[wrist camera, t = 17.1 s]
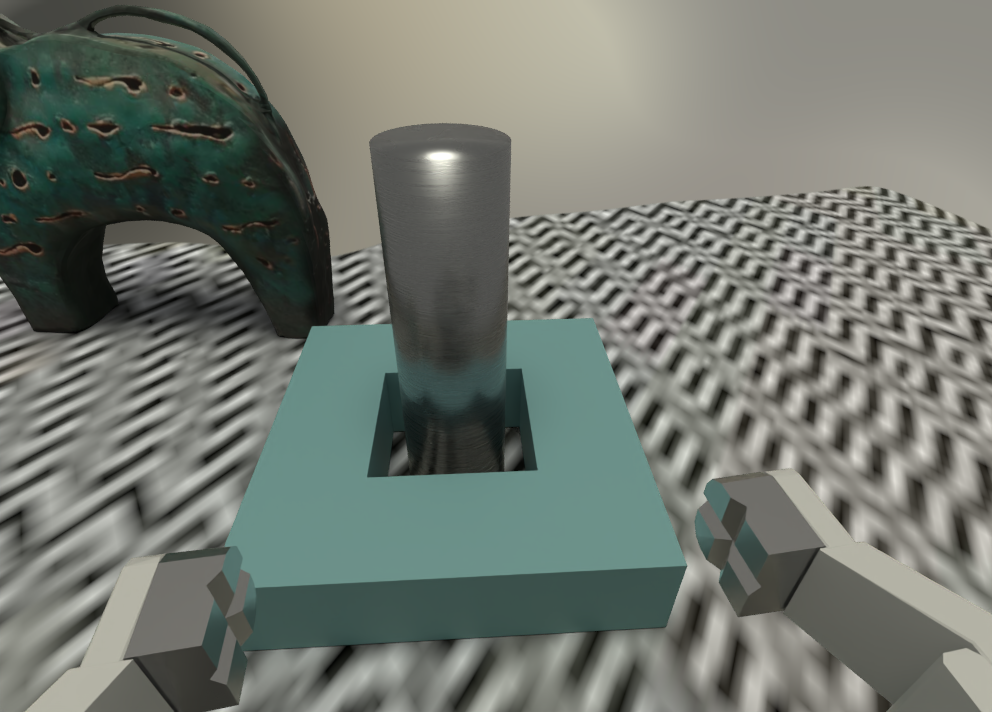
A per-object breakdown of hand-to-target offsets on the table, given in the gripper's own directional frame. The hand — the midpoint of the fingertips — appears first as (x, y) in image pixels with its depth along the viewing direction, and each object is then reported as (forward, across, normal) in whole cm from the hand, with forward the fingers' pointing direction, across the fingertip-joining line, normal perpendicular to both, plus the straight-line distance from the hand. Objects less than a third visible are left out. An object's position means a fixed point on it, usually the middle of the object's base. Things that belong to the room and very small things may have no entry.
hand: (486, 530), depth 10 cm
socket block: (+10, 0, +10) cm, 14 cm away
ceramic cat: (+26, +15, +10) cm, 32 cm away
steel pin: (+10, 0, +10) cm, 14 cm away
